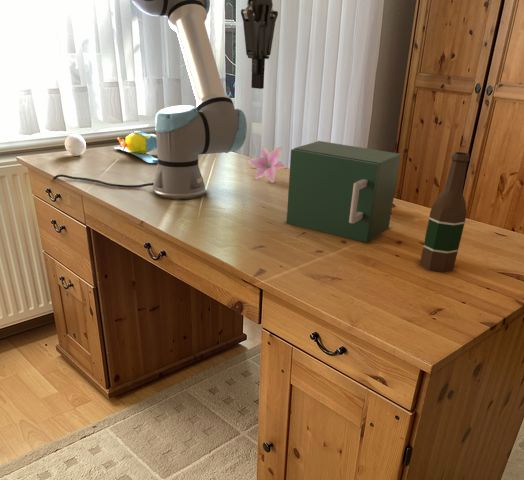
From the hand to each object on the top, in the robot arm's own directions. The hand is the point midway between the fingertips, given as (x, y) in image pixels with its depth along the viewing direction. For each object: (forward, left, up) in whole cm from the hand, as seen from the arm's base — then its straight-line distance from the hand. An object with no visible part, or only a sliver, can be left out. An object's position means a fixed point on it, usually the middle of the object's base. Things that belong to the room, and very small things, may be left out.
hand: (257, 88), depth 136 cm
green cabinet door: (+16, -22, -30) cm, 41 cm away
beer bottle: (+40, -40, -31) cm, 64 cm away
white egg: (-63, +55, -31) cm, 89 cm away
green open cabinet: (+22, -14, -30) cm, 40 cm away
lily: (+5, +32, -31) cm, 45 cm away
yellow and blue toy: (-41, +60, -31) cm, 79 cm away
